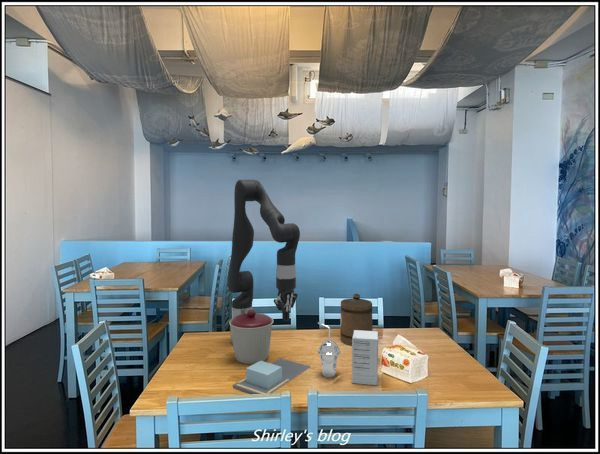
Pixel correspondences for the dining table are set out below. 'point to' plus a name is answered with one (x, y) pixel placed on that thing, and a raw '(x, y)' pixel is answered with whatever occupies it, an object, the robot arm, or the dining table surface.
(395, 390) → the dining table surface
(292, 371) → the display board
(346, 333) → the wooden container
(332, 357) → the cup with straw
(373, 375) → the supplement box
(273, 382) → the carton
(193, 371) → the dining table surface
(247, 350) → the canister
